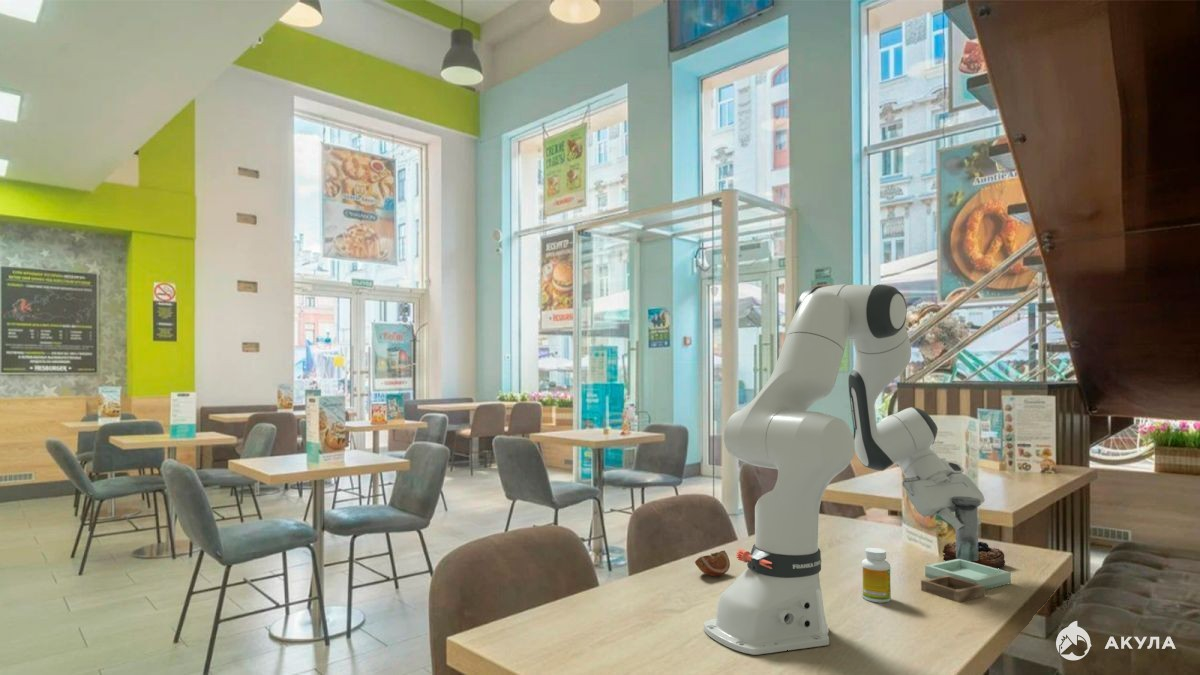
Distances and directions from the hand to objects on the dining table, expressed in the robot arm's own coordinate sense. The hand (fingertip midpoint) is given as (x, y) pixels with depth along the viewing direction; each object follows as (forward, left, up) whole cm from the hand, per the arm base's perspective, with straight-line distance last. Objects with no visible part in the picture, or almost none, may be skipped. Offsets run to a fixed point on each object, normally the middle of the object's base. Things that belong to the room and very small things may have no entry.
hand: (969, 526), depth 151 cm
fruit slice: (-48, +30, -12) cm, 58 cm away
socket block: (-11, -3, -12) cm, 16 cm away
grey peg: (0, +1, -7) cm, 7 cm away
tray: (0, +1, -12) cm, 12 cm away
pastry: (+13, +8, -12) cm, 20 cm away
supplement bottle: (-28, +2, -12) cm, 31 cm away
